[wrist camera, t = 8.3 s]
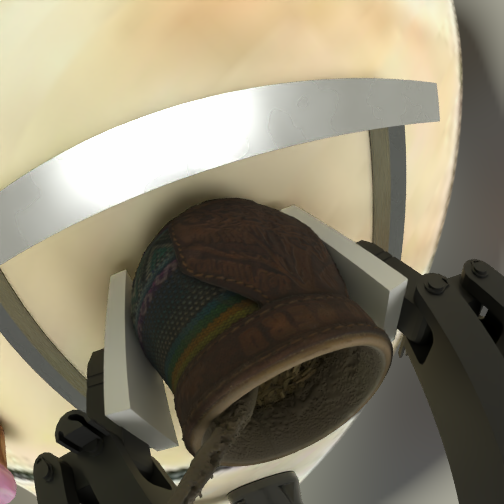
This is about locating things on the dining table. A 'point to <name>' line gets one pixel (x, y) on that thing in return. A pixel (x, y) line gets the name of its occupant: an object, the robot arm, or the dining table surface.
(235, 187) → the dining table surface
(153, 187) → the u-shaped bar frame
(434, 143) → the dining table surface
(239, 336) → the mate gourd
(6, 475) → the cupcake
